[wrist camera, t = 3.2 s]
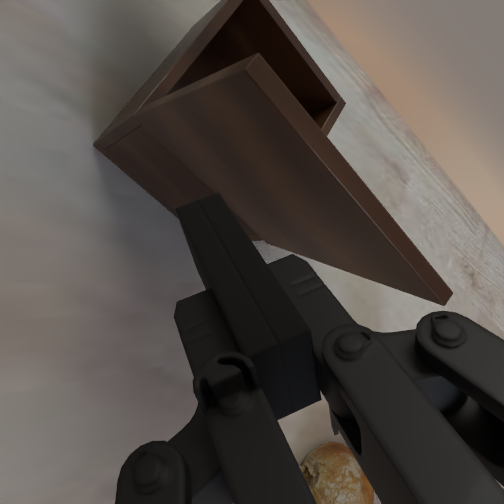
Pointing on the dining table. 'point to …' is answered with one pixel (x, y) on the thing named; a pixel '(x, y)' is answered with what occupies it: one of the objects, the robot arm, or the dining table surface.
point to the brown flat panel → (286, 176)
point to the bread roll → (336, 476)
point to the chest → (200, 66)
